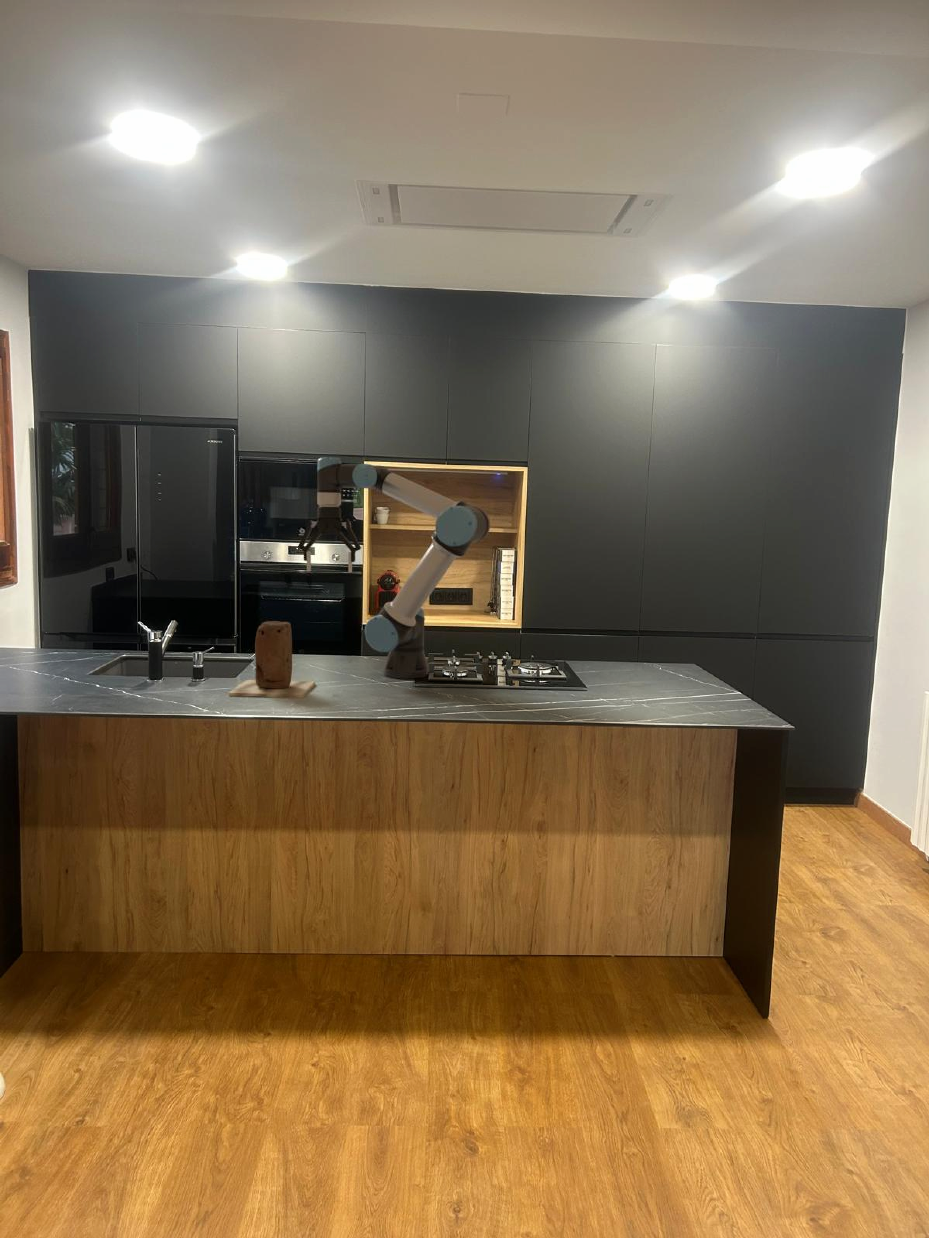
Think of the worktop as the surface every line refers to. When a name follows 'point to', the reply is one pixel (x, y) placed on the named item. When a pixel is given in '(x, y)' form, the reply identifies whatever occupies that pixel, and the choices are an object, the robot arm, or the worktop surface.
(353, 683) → the worktop surface
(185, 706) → the worktop surface
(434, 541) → the robot arm
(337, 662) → the worktop surface
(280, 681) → the block
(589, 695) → the worktop surface
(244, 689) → the wooden cutting board
